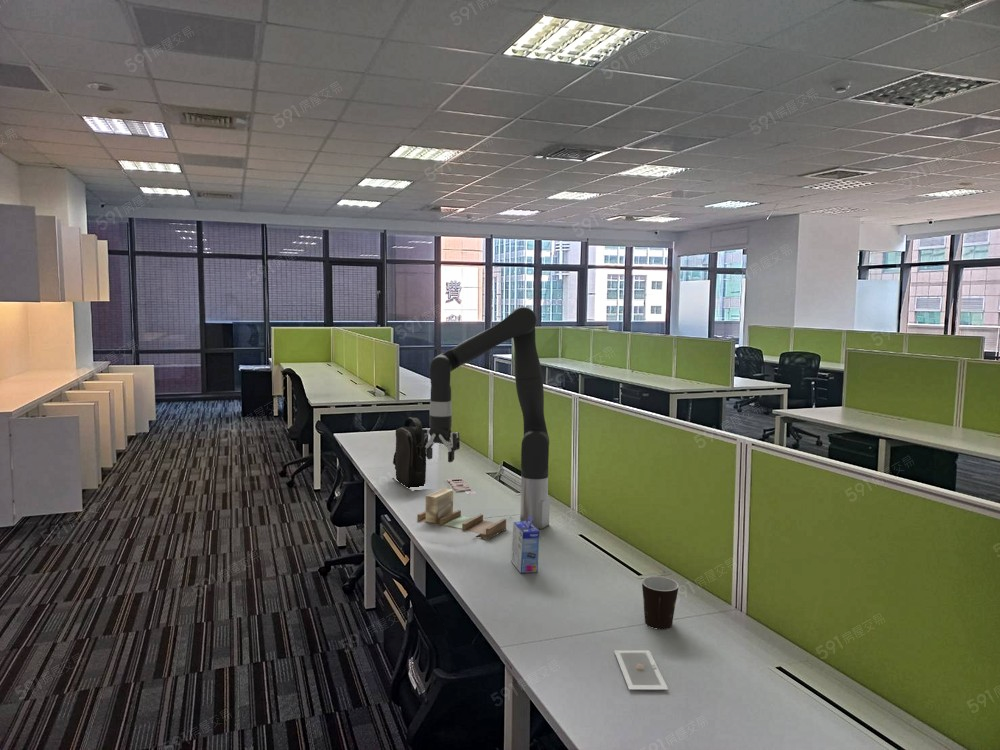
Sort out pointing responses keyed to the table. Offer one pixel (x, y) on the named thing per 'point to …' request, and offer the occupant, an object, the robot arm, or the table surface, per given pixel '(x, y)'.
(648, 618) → the coffee mug
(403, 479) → the shoulder bag
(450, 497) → the tall beige wooden block
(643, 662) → the touchpad
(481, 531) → the notched rack
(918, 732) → the table surface
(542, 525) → the robot arm
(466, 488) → the plaque
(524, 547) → the ink cartridge box
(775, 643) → the table surface
